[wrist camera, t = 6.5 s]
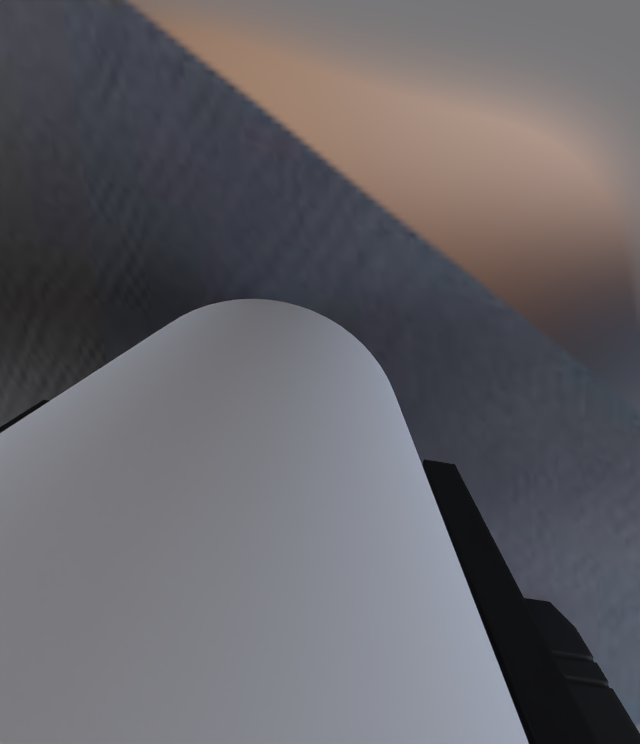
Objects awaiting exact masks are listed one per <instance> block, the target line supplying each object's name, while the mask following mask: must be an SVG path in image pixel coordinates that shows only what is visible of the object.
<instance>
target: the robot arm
mask: <svg viewBox="0 0 640 744" xmlns="http://www.w3.org/2000/svg"><path fill="white" fill-rule="evenodd" d="M48 402H49V401H47V400H43V401H41V402H39V403H38V404H36V405H35V406H33V407H31V408H30V409H28V410H27V411H25V412H24V413H22V414H20V415H19V416H17V417H16V418H14V419H12V420H11V421H9V422H8V423H6V424H5V425H3V426H1V427H0V433H1V432H3V431H4V430H6V429H7V428H9V427H11V426H12V425H14V424H15V423H17V422H18V421H20V420H21V419H23V418H24V417H26V416H27V415H29V414H31V413H32V412H34V411H35V410H37V409H38V408H40V407H41V406H43V405H44V404H46V403H48ZM422 467H423V469H424V472H425V474H426V477H427V480H428V482H429V485H430V487H431V490H432V493H433V495H434V498H435V500H436V503H437V506H438V508H439V511H440V513H441V516H442V519H443V521H444V524H445V526H446V529H447V532H448V534H449V537H450V540H451V542H452V545H453V547H454V550H455V553H456V555H457V558H458V560H459V563H460V566H461V568H462V571H463V573H464V576H465V579H466V581H467V584H468V586H469V589H470V592H471V594H472V597H473V599H474V602H475V605H476V607H477V610H478V612H479V615H480V618H481V620H482V623H483V625H484V628H485V631H486V633H487V636H488V638H489V641H490V644H491V646H492V649H493V651H494V654H495V657H496V659H497V662H498V664H499V667H500V670H501V672H502V675H503V677H504V680H505V683H506V685H507V688H508V691H509V693H510V696H511V698H512V701H513V704H514V706H515V709H516V711H517V714H518V717H519V719H520V722H521V724H522V727H523V730H524V732H525V735H526V737H527V740H528V743H529V744H640V733H639V732H638V730H637V728H636V727H635V725H634V723H633V722H632V720H631V718H630V717H629V715H628V713H627V712H626V710H625V708H624V707H623V705H622V704H621V702H620V700H619V699H618V697H617V695H616V694H615V692H614V690H613V689H611V688H609V686H608V680H607V679H606V677H605V676H604V674H603V672H602V671H601V669H600V667H599V666H598V664H597V663H595V662H594V661H593V656H592V654H591V652H590V651H589V649H588V647H587V646H586V644H585V643H584V641H583V639H582V638H581V636H580V634H579V633H578V631H577V629H576V628H575V627H574V626H573V625H572V624H571V623H570V622H569V621H568V620H567V619H566V618H565V617H564V616H563V615H562V614H561V613H560V612H559V611H558V610H557V609H556V608H555V607H554V606H553V605H552V604H551V603H550V602H547V601H540V600H533V599H526V598H524V597H523V596H522V594H521V592H520V590H519V588H518V586H517V584H516V582H515V580H514V578H513V576H512V574H511V572H510V570H509V568H508V567H507V565H506V563H505V561H504V559H503V557H502V555H501V553H500V551H499V549H498V547H497V545H496V543H495V541H494V539H493V538H492V536H491V534H490V532H489V530H488V528H487V526H486V524H485V522H484V520H483V518H482V516H481V514H480V512H479V510H478V508H477V507H476V505H475V503H474V501H473V499H472V497H471V495H470V493H469V491H468V489H467V487H466V485H465V483H464V481H463V479H462V478H461V476H460V474H459V472H458V470H457V468H456V466H455V464H449V463H443V462H436V461H430V460H424V461H423V464H422Z"/></svg>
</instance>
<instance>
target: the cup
mask: <svg viewBox="0 0 640 744" xmlns="http://www.w3.org/2000/svg"><path fill="white" fill-rule="evenodd" d="M0 744H529V743H528V740H527V737H526V735H525V732H524V730H523V727H522V724H521V722H520V719H519V717H518V714H517V711H516V709H515V706H514V704H513V701H512V698H511V696H510V693H509V691H508V688H507V685H506V683H505V680H504V677H503V675H502V672H501V670H500V667H499V664H498V662H497V659H496V657H495V654H494V651H493V649H492V646H491V644H490V641H489V638H488V636H487V633H486V631H485V628H484V625H483V623H482V620H481V618H480V615H479V612H478V610H477V607H476V605H475V602H474V599H473V597H472V594H471V592H470V589H469V586H468V584H467V581H466V579H465V576H464V573H463V571H462V568H461V566H460V563H459V560H458V558H457V555H456V553H455V550H454V547H453V545H452V542H451V540H450V537H449V534H448V532H447V529H446V526H445V524H444V521H443V519H442V516H441V513H440V511H439V508H438V506H437V503H436V500H435V498H434V495H433V493H432V490H431V487H430V485H429V482H428V480H427V477H426V474H425V472H424V469H423V467H422V464H421V461H420V459H419V456H418V454H417V451H416V448H415V446H414V443H413V441H412V438H411V435H410V433H409V430H408V428H407V425H406V422H405V420H404V417H403V415H402V412H401V409H400V407H399V404H398V402H397V399H396V396H395V394H394V391H393V389H392V387H391V384H390V382H389V380H388V378H387V376H386V375H385V373H384V371H383V369H382V368H381V366H380V365H379V363H378V362H377V361H376V359H375V358H374V356H373V355H372V354H371V353H370V352H369V351H368V350H367V348H366V347H365V346H364V345H363V344H362V343H361V342H360V341H359V340H358V339H356V338H355V337H354V336H353V335H352V334H351V333H349V332H348V331H347V330H345V329H344V328H343V327H341V326H340V325H338V324H337V323H335V322H333V321H332V320H330V319H329V318H327V317H325V316H323V315H320V314H318V313H316V312H314V311H312V310H309V309H306V308H303V307H301V306H297V305H294V304H290V303H286V302H281V301H274V300H266V299H238V300H230V301H223V302H219V303H215V304H211V305H207V306H204V307H201V308H199V309H196V310H193V311H191V312H189V313H187V314H185V315H183V316H181V317H179V318H178V319H176V320H174V321H173V322H171V323H169V324H168V325H166V326H165V327H163V328H162V329H160V330H159V331H157V332H155V333H154V334H152V335H151V336H149V337H148V338H146V339H145V340H143V341H142V342H140V343H139V344H137V345H135V346H134V347H132V348H131V349H129V350H128V351H126V352H125V353H123V354H122V355H120V356H118V357H117V358H115V359H114V360H112V361H111V362H109V363H108V364H106V365H105V366H103V367H102V368H100V369H98V370H97V371H95V372H94V373H92V374H91V375H89V376H88V377H86V378H85V379H83V380H81V381H80V382H78V383H77V384H75V385H74V386H72V387H71V388H69V389H68V390H66V391H64V392H63V393H61V394H60V395H58V396H57V397H55V398H54V399H52V400H51V401H49V402H48V403H46V404H44V405H43V406H41V407H40V408H38V409H37V410H35V411H34V412H32V413H31V414H29V415H27V416H26V417H24V418H23V419H21V420H20V421H18V422H17V423H15V424H14V425H12V426H11V427H9V428H7V429H6V430H4V431H3V432H1V433H0Z"/></svg>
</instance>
